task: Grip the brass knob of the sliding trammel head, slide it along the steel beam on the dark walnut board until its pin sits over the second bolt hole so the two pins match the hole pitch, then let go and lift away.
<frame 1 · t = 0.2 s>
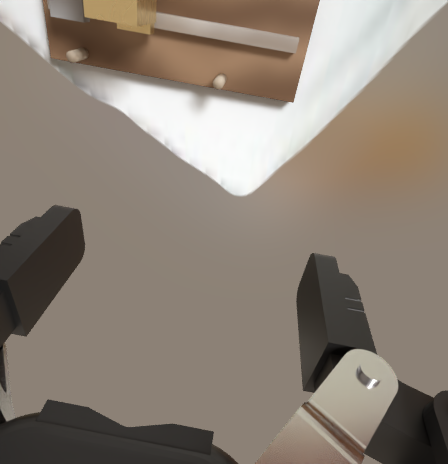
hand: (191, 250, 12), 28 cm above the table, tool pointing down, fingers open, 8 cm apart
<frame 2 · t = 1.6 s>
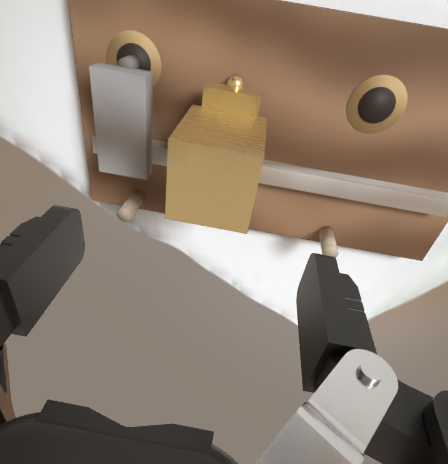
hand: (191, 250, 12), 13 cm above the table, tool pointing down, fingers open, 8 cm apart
pitch board: (276, 132, 22), on the table
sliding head: (221, 153, 18), point 5 cm above the table, slide at 0.0 cm
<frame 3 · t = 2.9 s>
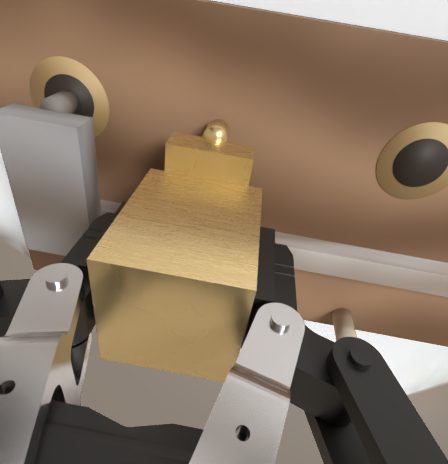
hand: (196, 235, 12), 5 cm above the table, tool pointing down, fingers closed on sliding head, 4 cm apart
pitch board: (275, 189, 16), on the table
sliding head: (194, 242, 12), point 5 cm above the table, slide at 0.0 cm, touching gripper
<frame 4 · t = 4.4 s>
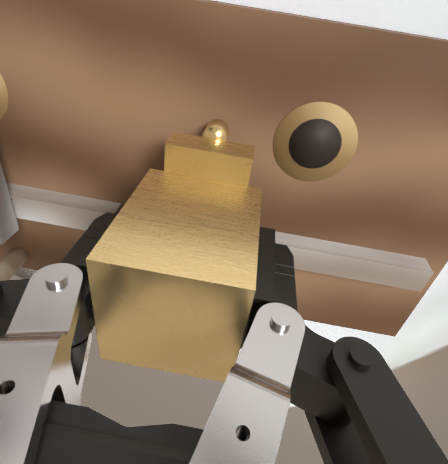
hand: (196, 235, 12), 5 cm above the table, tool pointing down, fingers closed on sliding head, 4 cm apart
pitch board: (191, 174, 16), on the table
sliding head: (193, 242, 12), point 5 cm above the table, slide at 4.2 cm, touching gripper
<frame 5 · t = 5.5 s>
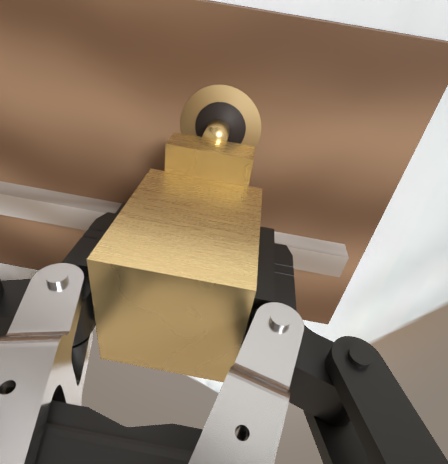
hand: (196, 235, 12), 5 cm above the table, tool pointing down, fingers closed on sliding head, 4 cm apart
pitch board: (115, 160, 16), on the table
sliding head: (194, 242, 12), point 5 cm above the table, slide at 8.0 cm, touching gripper
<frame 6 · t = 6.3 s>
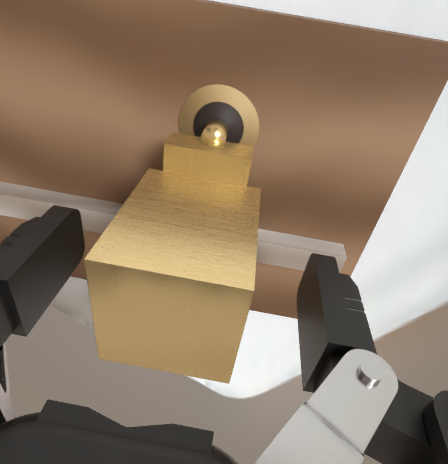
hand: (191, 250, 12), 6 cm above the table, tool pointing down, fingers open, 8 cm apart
pitch board: (113, 160, 16), on the table
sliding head: (192, 242, 12), point 5 cm above the table, slide at 8.0 cm
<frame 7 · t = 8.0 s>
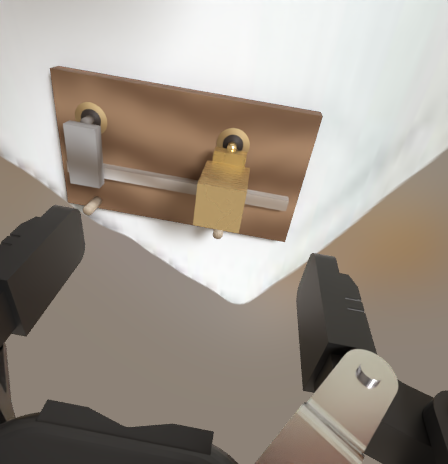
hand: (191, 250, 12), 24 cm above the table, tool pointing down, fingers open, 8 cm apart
pitch board: (183, 159, 35), on the table
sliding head: (224, 188, 31), point 5 cm above the table, slide at 8.0 cm
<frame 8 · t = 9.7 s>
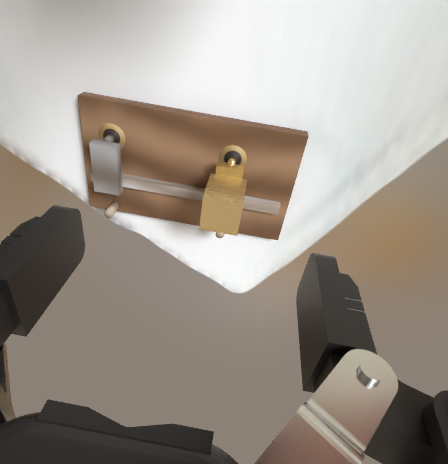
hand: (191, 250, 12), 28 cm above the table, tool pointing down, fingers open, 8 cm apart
pitch board: (190, 169, 41), on the table
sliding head: (225, 197, 36), point 5 cm above the table, slide at 8.0 cm
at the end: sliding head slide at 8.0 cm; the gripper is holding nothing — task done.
